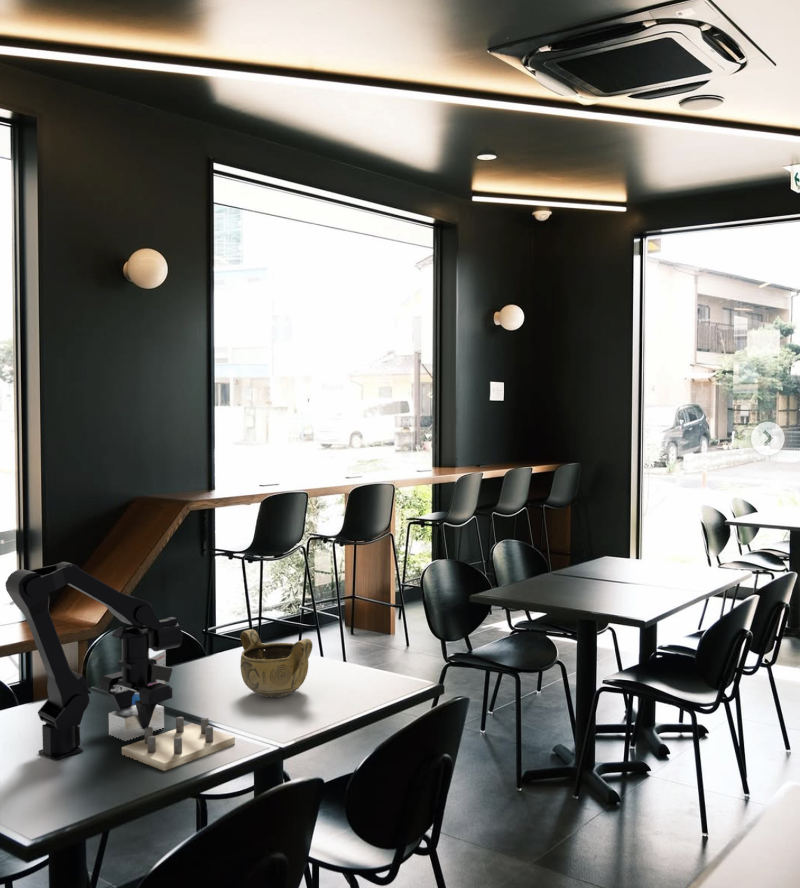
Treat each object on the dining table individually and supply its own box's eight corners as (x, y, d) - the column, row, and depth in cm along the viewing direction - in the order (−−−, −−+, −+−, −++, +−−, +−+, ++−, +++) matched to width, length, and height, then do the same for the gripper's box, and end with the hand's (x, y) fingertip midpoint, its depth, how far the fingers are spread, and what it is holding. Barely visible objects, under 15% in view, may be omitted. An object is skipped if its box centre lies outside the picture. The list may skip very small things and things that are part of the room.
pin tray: (164, 770, 175) (164, 748, 175) (121, 754, 183) (121, 732, 183) (234, 744, 189) (234, 722, 189) (192, 730, 198) (191, 709, 197)
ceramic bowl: (331, 693, 223) (330, 633, 222) (283, 712, 209) (282, 648, 209) (267, 678, 236) (267, 622, 236) (218, 694, 223) (217, 634, 222)
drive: (125, 741, 191) (124, 718, 191) (108, 735, 195) (108, 713, 195) (164, 728, 199) (163, 706, 199) (147, 723, 203) (147, 701, 203)
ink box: (150, 706, 214) (149, 657, 213) (131, 705, 215) (130, 656, 214) (166, 695, 222) (166, 648, 222) (148, 694, 223) (147, 647, 223)
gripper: (192, 654, 197) (193, 724, 197) (140, 641, 208) (141, 708, 209) (149, 665, 188) (151, 739, 189) (98, 651, 200) (99, 721, 200)
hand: (136, 726), depth 197 cm, fingers closed on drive, 6 cm apart
